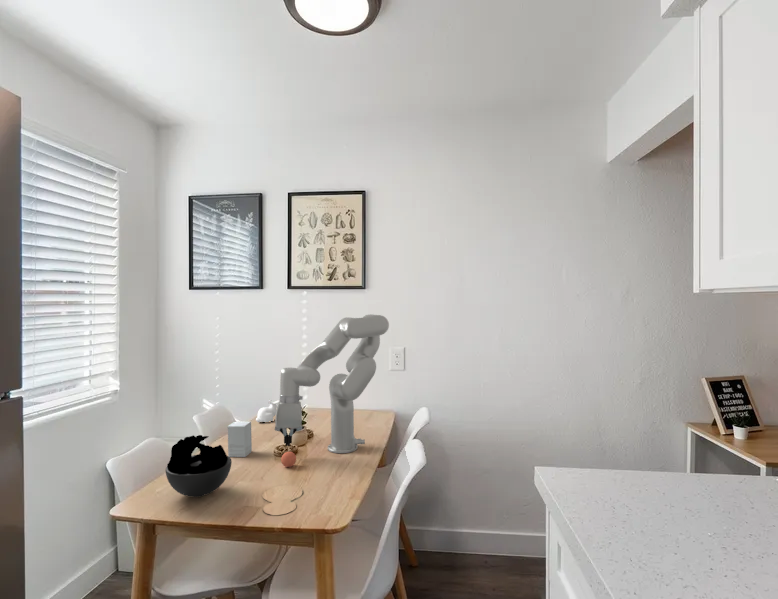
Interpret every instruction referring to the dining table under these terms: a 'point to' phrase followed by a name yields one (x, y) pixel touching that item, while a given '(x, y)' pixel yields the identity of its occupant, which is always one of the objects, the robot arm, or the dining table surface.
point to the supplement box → (239, 439)
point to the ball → (288, 459)
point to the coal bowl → (197, 467)
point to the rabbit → (267, 412)
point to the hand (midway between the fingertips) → (287, 445)
